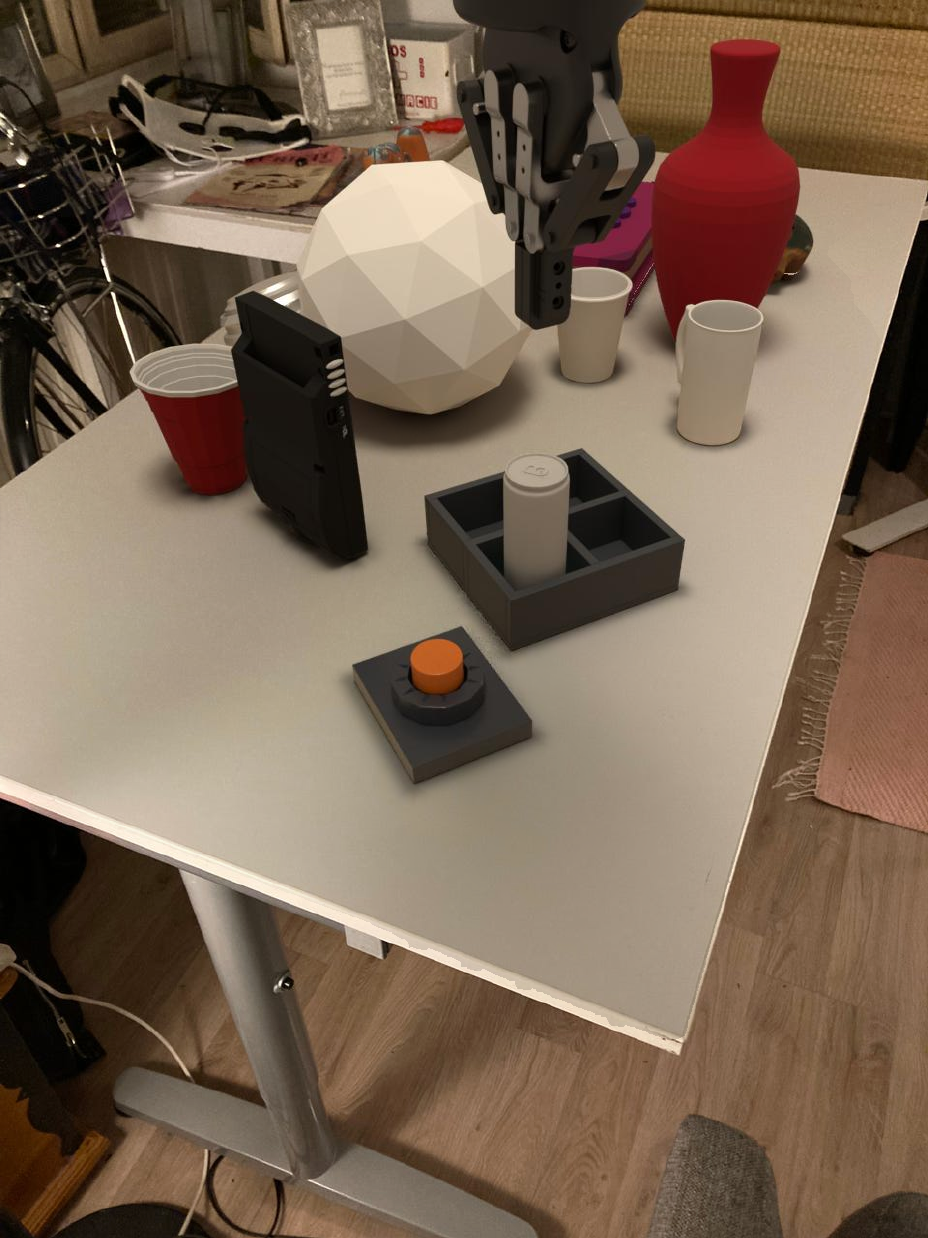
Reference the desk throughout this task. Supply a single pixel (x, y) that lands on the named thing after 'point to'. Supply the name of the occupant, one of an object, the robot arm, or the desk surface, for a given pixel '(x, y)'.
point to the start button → (437, 667)
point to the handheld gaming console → (299, 424)
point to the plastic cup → (197, 412)
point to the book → (625, 243)
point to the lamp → (408, 287)
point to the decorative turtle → (795, 250)
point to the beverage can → (535, 519)
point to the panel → (441, 710)
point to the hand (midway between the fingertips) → (542, 320)
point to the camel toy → (398, 149)
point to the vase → (725, 193)
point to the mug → (715, 368)
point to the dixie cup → (593, 324)
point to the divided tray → (595, 559)
